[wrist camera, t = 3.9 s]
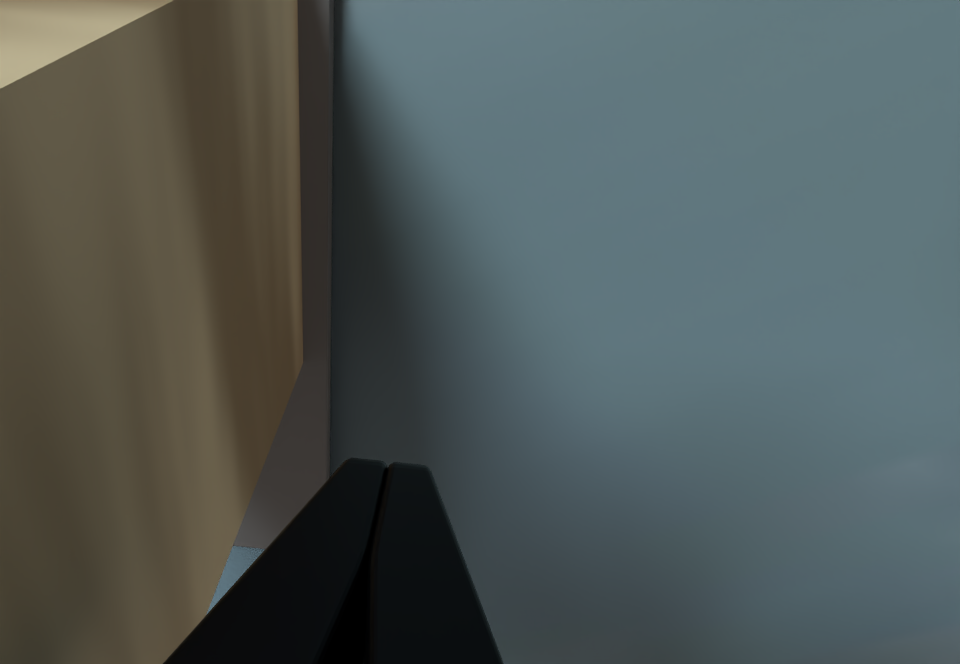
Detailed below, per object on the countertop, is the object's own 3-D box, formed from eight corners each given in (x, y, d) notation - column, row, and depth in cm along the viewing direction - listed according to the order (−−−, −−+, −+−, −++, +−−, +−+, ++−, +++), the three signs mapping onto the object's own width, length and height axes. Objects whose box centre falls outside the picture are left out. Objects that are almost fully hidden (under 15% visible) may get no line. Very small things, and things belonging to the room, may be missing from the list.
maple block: (295, -63, 11) (-262, 223, 3) (303, 362, 16) (77, 948, 8) (28, -99, 11) (-1305, 104, 3) (110, 341, 16) (-338, 915, 7)
